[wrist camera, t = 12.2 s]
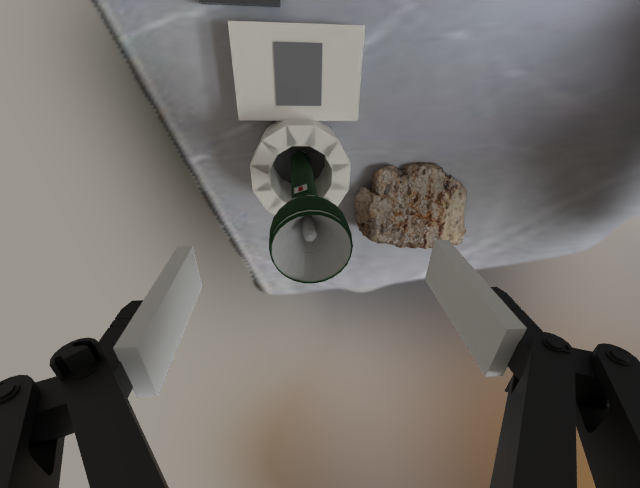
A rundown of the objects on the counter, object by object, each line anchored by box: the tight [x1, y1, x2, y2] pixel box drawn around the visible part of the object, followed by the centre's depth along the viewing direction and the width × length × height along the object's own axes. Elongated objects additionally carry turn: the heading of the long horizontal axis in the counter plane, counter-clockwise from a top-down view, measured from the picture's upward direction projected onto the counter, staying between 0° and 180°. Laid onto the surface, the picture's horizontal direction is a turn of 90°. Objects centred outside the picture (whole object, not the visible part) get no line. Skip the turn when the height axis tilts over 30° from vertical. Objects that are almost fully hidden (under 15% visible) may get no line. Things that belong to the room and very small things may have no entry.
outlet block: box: [228, 21, 365, 215], centre depth 30 cm, size 12×17×6 cm
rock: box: [355, 163, 467, 249], centre depth 37 cm, size 15×10×6 cm
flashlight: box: [269, 151, 353, 283], centre depth 26 cm, size 5×5×20 cm
